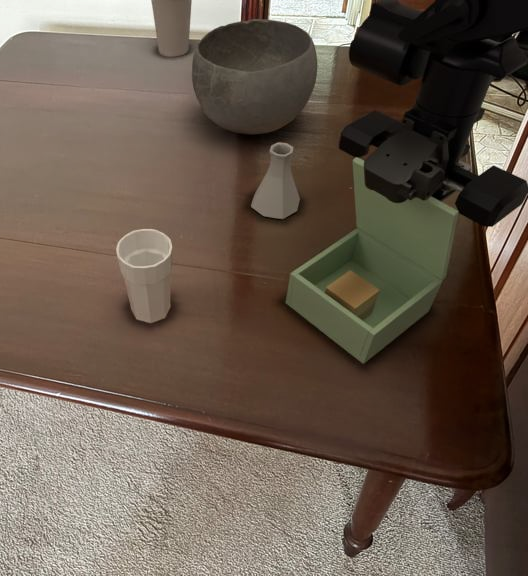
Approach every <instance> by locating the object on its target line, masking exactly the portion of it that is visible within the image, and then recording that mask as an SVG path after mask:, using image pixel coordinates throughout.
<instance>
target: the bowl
mask: <svg viewBox="0 0 528 576" xmlns="http://www.w3.org/2000/svg"><path fill="white" fill-rule="evenodd" d="M317 77H318V56H317V50H316V45H315V43H314V41H313V38H312V37H311V35H310V34H309V33H308V32H307V31H306V30H305V29H303V28H301V27H300V26H297V25H295V24H292V23H289V22H286V21H281V20H274V19H263V18H261V19H260V18H256V19H255V18H252V19H249V20H241V21H236V22H232V23H227V24H226V25H220V26H218V27H216V28H215V27H214V28H213V29H212V30H211V31H208V33H206V34H205V35H204V36H203V37H201V39H199V41H198V42H197V43H196V46H195V49H194V53H193V56H192V65H191V81H192V88H193V92H194V95H195V98H196V99H197V102H198V103H199V105H200V108H201V109H202V111H203V113H204V115H206V116H207V117H208V119H210V120H211V121H212V122H213V123H214V124H216V125H217V126H219V127H220V128H222V129H224V130H227V131H229V132H232V133H234V134H235V133H236V134H242V135H262V134H268V133H271V132H275V131H277V130H280V129H281V128H283V127H285V126H287V125H288V124H289V123H290V122H292V121H293V120H294V119H296V118H297V117H298V115H299V114H300V113H302V111H303V110H304V109H305V107H306V105H307V104H308V102H309V100H310V98H311V97H312V94H313V92H314V88H315V86H316V81H317Z"/></svg>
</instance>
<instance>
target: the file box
mask: <svg viewBox="0 0 528 576" xmlns="http://www.w3.org/2000/svg"><path fill="white" fill-rule="evenodd" d="M350 270H351V271H353V272H354V273H356V274H357V275H358V276H360V277H361V278H363V279H364V280H366V281H367V282H369V283H370V284H372V285H373V286H375V287H376V288H378V289H379V290H380V291H379V294H378V297H377V300H376V303H375V306H374V309H373V311H372V314H370V315H369V316H368V317H366V318H365V319H364V320H361V319H360V318H358V317H357V316H355V315H354V314H353V313H351V312H350V311H349V310H347V309H346V308H345V307H343V306H342V305H340V304H339V303H338V302H336V301H335V300H334V299H332V298H331V297H329V296H328V295H327V294H325V290H326V287H327V286H329V285H330V284H331V283H333V282H334V281H336V280H337V279H339V278H340V277H341V276H343V275H344V274H346V273H347V272H348V271H350ZM443 282H444V280H441V279H440V278H438V277H437V276H435V275H433V274H432V273H430V272H429V271H427V270H425V269H424V268H422V267H420V266H419V265H417V264H416V263H414V262H412V261H411V260H409V259H408V258H406V257H404V256H403V255H401V254H399V253H398V252H396V251H395V250H393V249H391V248H390V247H388V246H387V245H385V244H383V243H382V242H380V241H379V240H377V239H375V238H374V237H372V236H370V235H369V234H367V233H366V232H364V231H362V230H361V229H359V228H358V227H356V228H355V229H353V230H352V231H351V232H349V233H347V235H345V236H343V237H342V238H340V239H339V240H338V241H336V242H334V243H333V244H332V245H330V246H328V247H327V248H326V249H324V250H323V251H320V253H318V254H316V255H315V256H314V257H312V258H311V259H309V260H308V261H307V262H305V263H303V264H302V265H301V266H298V267H297V268H296V269H295V270H293V271H292V272H290V274H289V281H288V284H287V285H288V287H287V292H286V297H285V304H286V305H287V306H289V307H290V308H291V309H292V310H294V311H295V312H296V313H298V314H299V316H301V317H303V318H304V319H305V320H306V321H308V322H309V324H311V325H313V326H314V327H315V328H317V329H318V330H319V331H320V332H321V333H323V334H324V335H326V336H327V337H328V338H329V339H330V340H332V341H333V342H334V343H336V344H337V345H338V346H339V347H341V348H342V349H343V350H345V351H346V352H347V353H348V354H350V355H351V357H353V358H355V359H356V360H357V361H358V362H360V363H361V364H363V365H364V364H365V363H367V362H368V361H369V360H370V359H372V358H373V357H374V356H376V355H377V354H378V353H379V352H381V351H382V350H383V349H384V348H386V347H387V346H388V345H389V344H390V343H392V342H393V341H394V340H395V339H396V338H398V336H401V335H402V334H403V333H404V332H406V330H407V329H409V328H410V327H411V326H412V325H414V324H415V323H416V322H418V321H419V320H421V318H423V317H424V316H425V315H426V314H428V312H430V310H431V307H432V305H433V303H434V301H435V299H436V297H437V294H438V293H439V290H440V288H441V287H442V285H443Z"/></svg>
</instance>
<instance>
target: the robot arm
mask: <svg viewBox="0 0 528 576" xmlns="http://www.w3.org/2000/svg"><path fill="white" fill-rule="evenodd" d="M524 31H528V0H434V1H433V3H431V4H430V5H428V7H427V8H425V9H424V10H423V11H422V10H419V9H417V8H413V7H410V6H408V5H404V4H402V3H401V2H399V1H398V0H377V1H376V2H373V3H372V4H371V8H370V12H369V15H368V16H367V17H366V18H365V19H364V20H363V22H362V23H361V25H360V26H359V28H358V29H357V31H356V33H355V35H354V38H353V39H352V40H351V42H350V44H349V49H348V60H349V63H350V64H351V65H352V66H353V67H355V68H357V69H359V70H361V71H364V72H366V73H369V74H371V75H373V76H376V77H377V78H380V79H383V80H384V81H387V82H390V83H392V84H394V85H397V86H405V85H407V84H410V83H411V82H412V81H413V80H419V79H421V82H420V85H419V89H418V90H417V91H418V92H417V94H416V97H415V101H414V104H413V107H412V108H410V109H408V110H407V111H405V112H404V115H403V118H401V120H400V121H399V120H397V119H396V118H393V117H391V116H388V115H386V114H384V113H382V112H380V111H378V110H376V109H374V110H371V111H370V112H368V113H366V114H364V115H362V116H361V117H359V118H357V119H355V120H354V121H352V122H350V123H348V124H347V125H345V126H344V127H343V129H342V131H341V132H340V136H339V139H338V140H339V141H338V149H339V150H340V151H342V152H344V153H345V154H347V155H349V156H351V157H353V158H354V159H355V158H356V157H358V158H360V159H361V158H362V157H365V156H367V155H368V154H369V150H370V148H371V146H373V147H375V148H376V149H375V150H374V151H373V152H372V153H370V154H369V156H367V157H366V158H365V159H364V181H365V186H366V187H367V188H368V189H370V190H374V191H375V192H377V193H379V194H381V195H382V196H384V197H386V198H387V199H388V200H389V201H391V202H393V203H402V202H405V201H406V200H407V199H409V200H412V199H414V198H419V199H421V200H423V201H425V200H428V199H429V198H430V197H433V198H435V199H437V200H439V201H441V202H443V201H445V200H447V198H449V197H450V196H452V195H453V194H455V193H456V192H458V193H459V194H458V195H457V197H456V199H455V201H454V206H455V207H456V210H458V211H459V213H458V215H461V216H463V217H466V218H467V219H469V220H470V221H473V222H474V223H476V224H478V225H479V226H481V227H484V228H485V227H486V228H487V227H490V228H494V226H496V225H497V224H498V223H499V222H501V221H502V220H503V219H505V218H506V217H507V216H509V215H510V214H511V213H513V212H514V211H515V210H516V209H518V208H519V207H520V206H522V205H523V203H524V202H525V200H526V198H527V196H528V181H527V180H526V179H525V178H522V177H520V176H517V175H515V174H514V173H511V172H509V171H507V170H505V169H503V168H501V167H498V166H496V165H492V166H490V167H489V168H487V169H486V170H484V171H483V172H482V173H480V174H476V173H475V172H473V171H471V170H472V167H473V166H472V165H471V164H469V163H466V162H464V161H462V160H461V159H462V158H464V157H466V156H467V155H468V154H469V151H470V148H471V145H470V144H468V141H469V139H470V136H471V133H472V131H473V128H474V126H475V124H476V123H478V122H480V121H481V120H483V116H484V114H485V111H486V109H485V108H482V105H483V103H484V101H485V97H486V96H487V93H488V90H489V88H490V86H491V83H492V81H493V79H494V78H497V79H499V80H500V79H501V80H502V79H504V78H506V77H508V76H509V75H511V74H512V73H514V72H516V71H517V70H519V69H521V68H523V67H525V65H527V64H528V57H527V56H526V55H525V53H524V51H523V50H522V49H521V48H520V47H519V46H518V43H517V39H516V37H515V36H510V35H513V34H518V33H521V32H524ZM506 36H510V37H509V38H507V39H504V40H503V41H501V42H498V41H495V40H492V39H496V38H502V37H506Z"/></svg>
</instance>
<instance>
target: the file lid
mask: <svg viewBox="0 0 528 576" xmlns="http://www.w3.org/2000/svg"><path fill="white" fill-rule="evenodd" d="M364 161H365V159H362V158H361V157H360V158H358V157H356V158H355V157H354V158H353V160H352V174H353V189H354V190H353V191H354V208H355V223H356V228H359V229H360V230H362V231H364V232H365V233H367V234H368V235H370V236H372V237H373V238H375V239H377V240H378V241H380V242H381V243H383V244H385V245H386V246H388V247H389V248H391V249H393V250H394V251H396V252H397V253H399V254H401V255H402V256H404V257H406V258H407V259H409V260H410V261H412V262H414V263H415V264H417V265H418V266H420V267H422V268H423V269H425V270H426V271H428V272H430V273H431V274H433V275H435V276H436V277H438V278H439V279H441V280H442V281H444V279H445V278H446V277H447V273H448V270H449V269H448V268H449V264H450V260H451V259H450V257H451V253H452V249H453V248H452V247H453V243H454V237H455V233H456V228H457V222H458V217H459V211H458V210H457V208H454V207H452V206H450V205H448V204H447V203H445V202H443V201H442V202H441V201H439V200H437V199H435V198H433V197H430V198H429V199H428V200H425V201H423V200H421V199H419V198H414V199H412V200H409V199H407V200H406V201H405V202H402V203H393V202H391V201H389V200H388V199H387V198H386V197H384V196H382V195H381V194H379V193H377V192H375V191H374V190H370V189H368V188H367V187H366V186H365V181H364Z"/></svg>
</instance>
